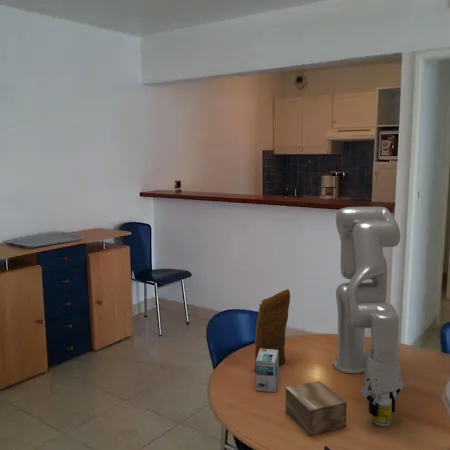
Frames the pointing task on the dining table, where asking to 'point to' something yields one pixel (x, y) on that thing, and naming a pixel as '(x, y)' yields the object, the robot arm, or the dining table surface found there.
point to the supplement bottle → (383, 410)
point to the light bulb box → (267, 370)
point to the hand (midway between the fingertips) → (381, 411)
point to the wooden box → (316, 416)
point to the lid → (315, 396)
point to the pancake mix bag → (272, 324)
